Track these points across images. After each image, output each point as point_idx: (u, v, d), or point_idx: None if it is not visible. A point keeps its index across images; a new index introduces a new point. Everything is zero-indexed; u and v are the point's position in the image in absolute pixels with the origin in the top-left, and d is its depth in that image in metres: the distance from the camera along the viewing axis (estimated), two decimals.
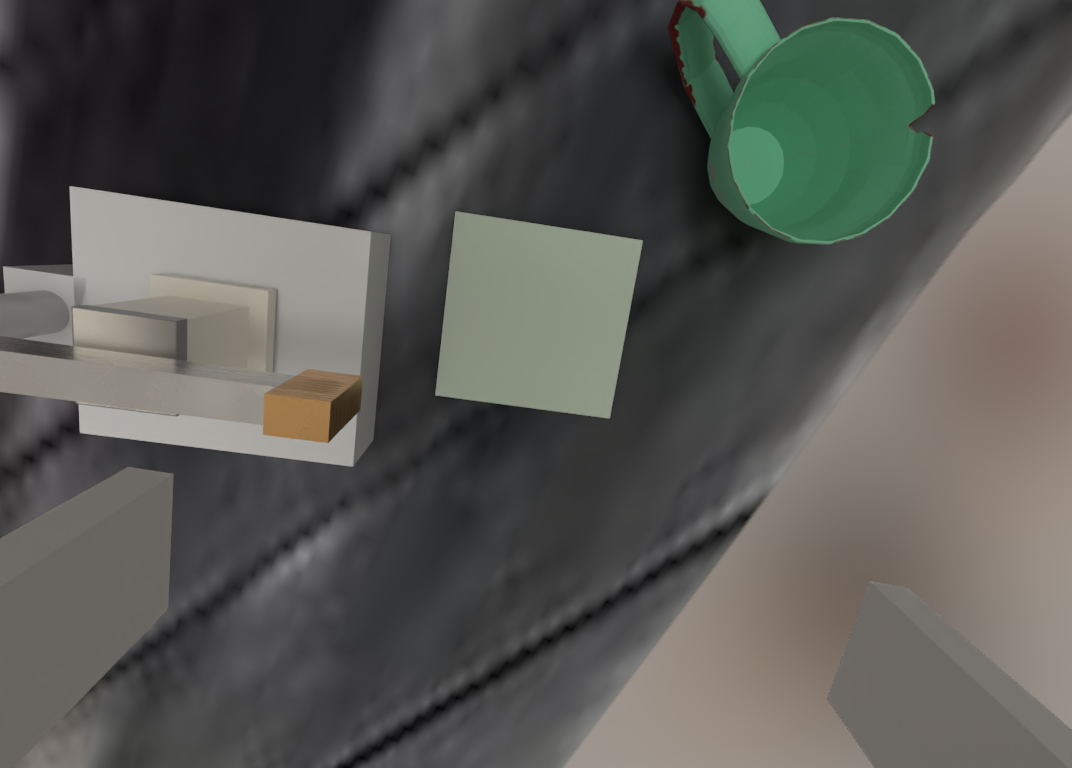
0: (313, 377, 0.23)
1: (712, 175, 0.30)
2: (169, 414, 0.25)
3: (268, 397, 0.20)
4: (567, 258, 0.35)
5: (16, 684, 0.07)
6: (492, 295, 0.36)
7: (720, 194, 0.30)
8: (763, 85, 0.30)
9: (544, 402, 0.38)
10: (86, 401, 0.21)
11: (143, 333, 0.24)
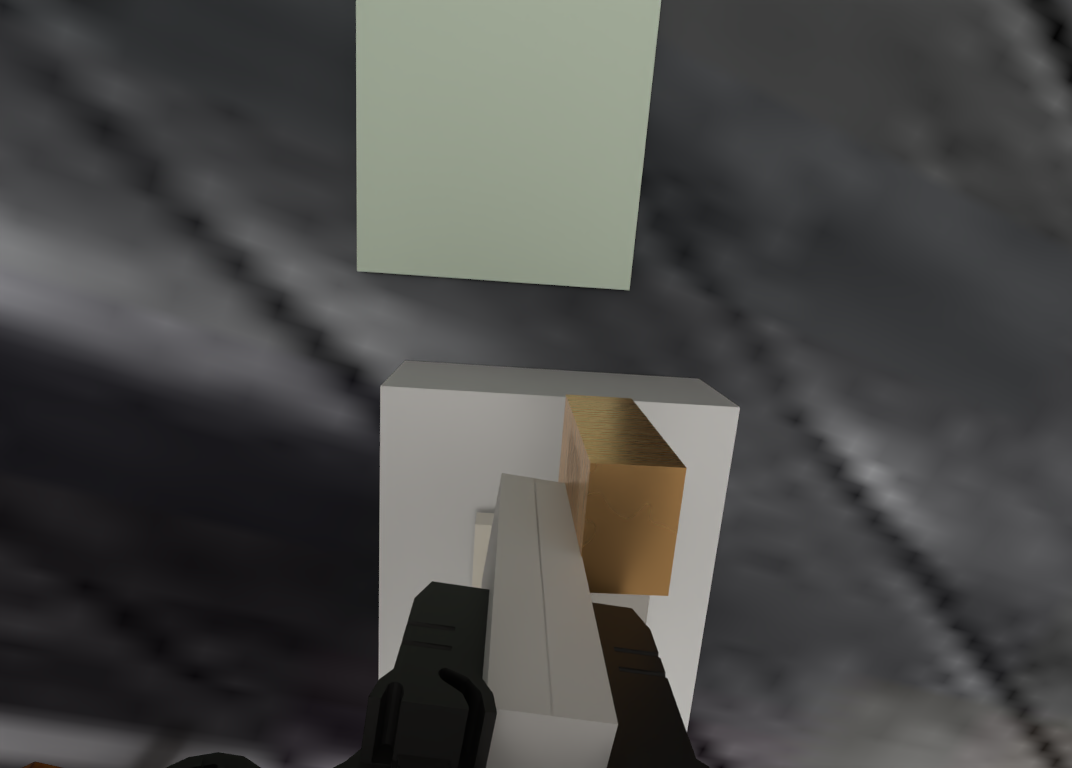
0: (564, 482, 0.12)
1: None
2: None
3: None
4: (401, 88, 0.22)
5: None
6: (471, 208, 0.24)
7: None
8: None
9: (637, 110, 0.23)
10: None
11: None
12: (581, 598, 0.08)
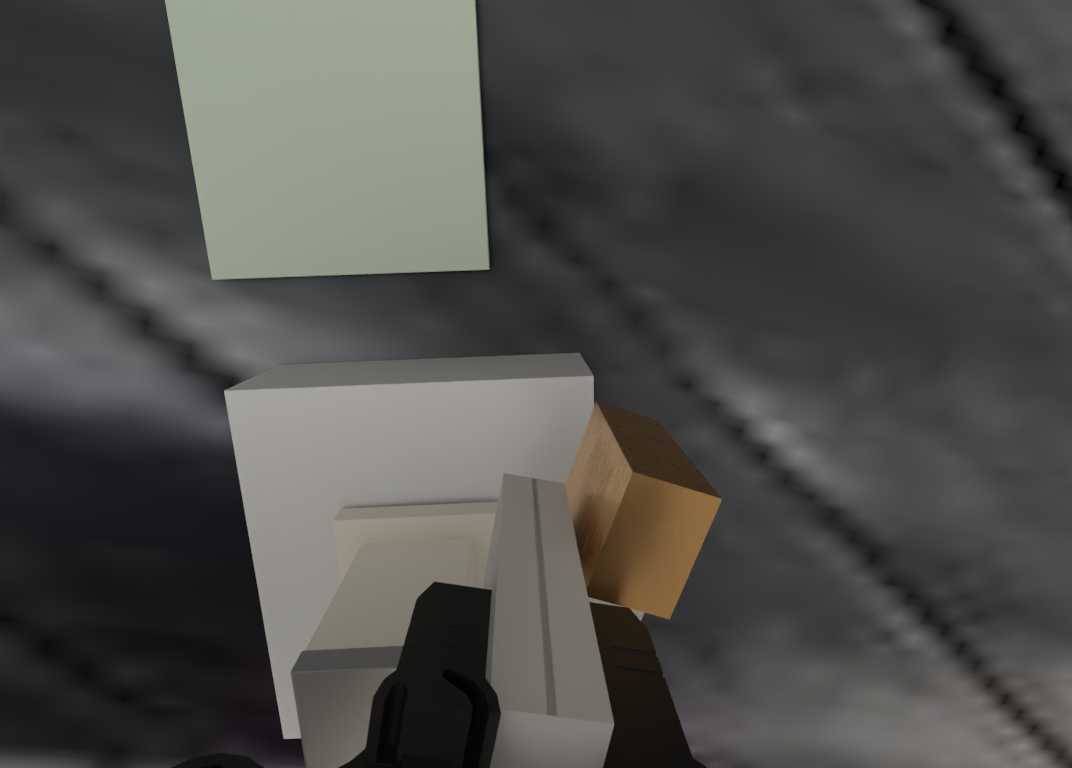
0: (578, 486, 0.12)
1: None
2: None
3: (594, 589, 0.10)
4: (226, 91, 0.22)
5: None
6: (315, 204, 0.23)
7: None
8: None
9: (467, 85, 0.23)
10: None
11: (325, 713, 0.15)
12: (578, 598, 0.08)
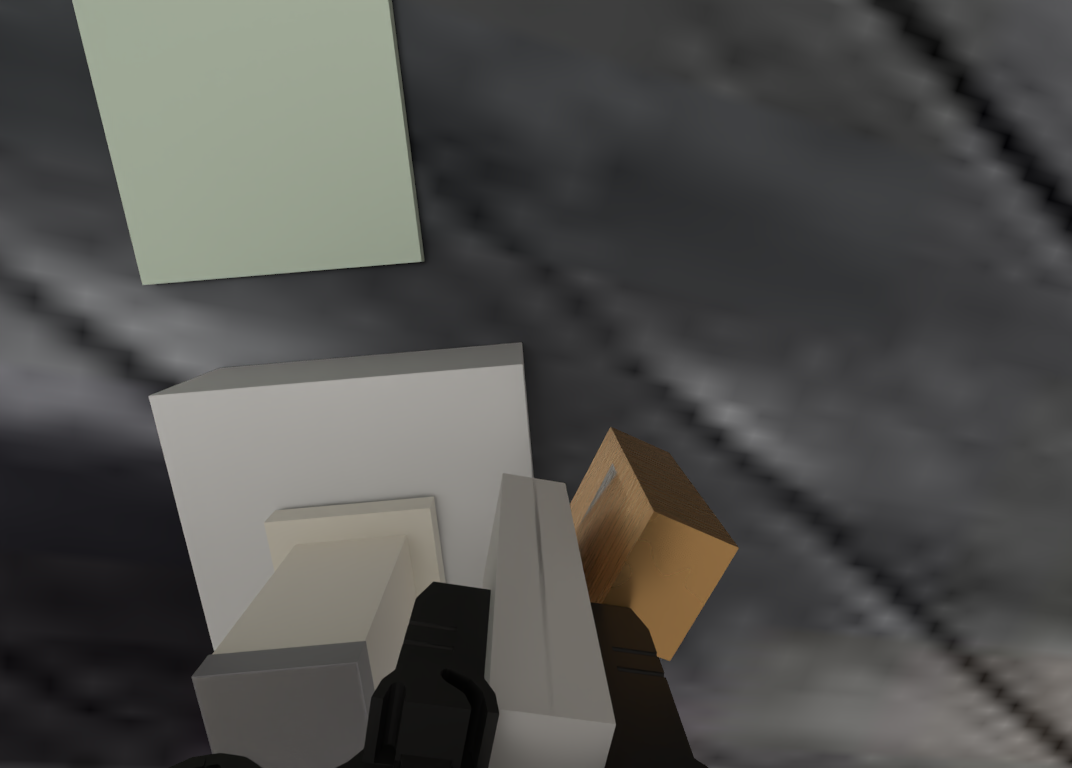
0: (585, 512, 0.12)
1: None
2: (357, 671, 0.14)
3: None
4: (141, 93, 0.22)
5: None
6: (241, 203, 0.23)
7: None
8: None
9: (385, 74, 0.22)
10: None
11: (231, 717, 0.15)
12: (579, 598, 0.08)
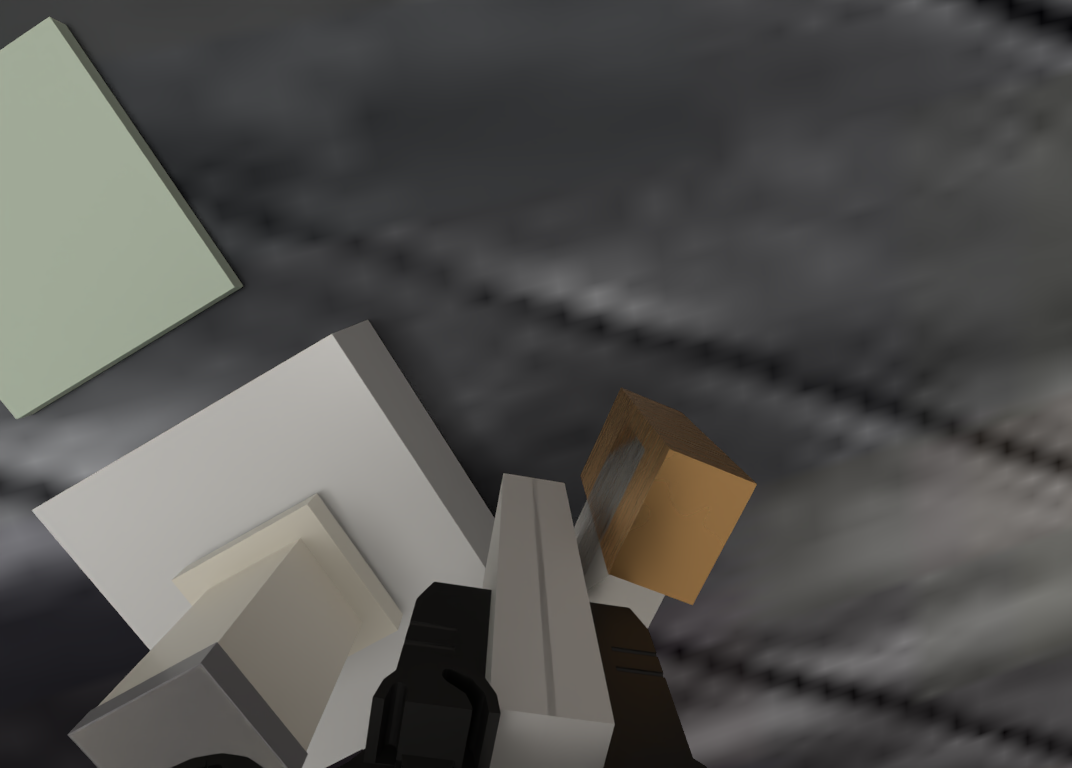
0: (599, 470, 0.12)
1: None
2: (207, 671, 0.14)
3: (618, 568, 0.09)
4: None
5: None
6: (58, 309, 0.24)
7: None
8: None
9: (116, 134, 0.23)
10: None
11: (123, 759, 0.15)
12: (578, 598, 0.08)
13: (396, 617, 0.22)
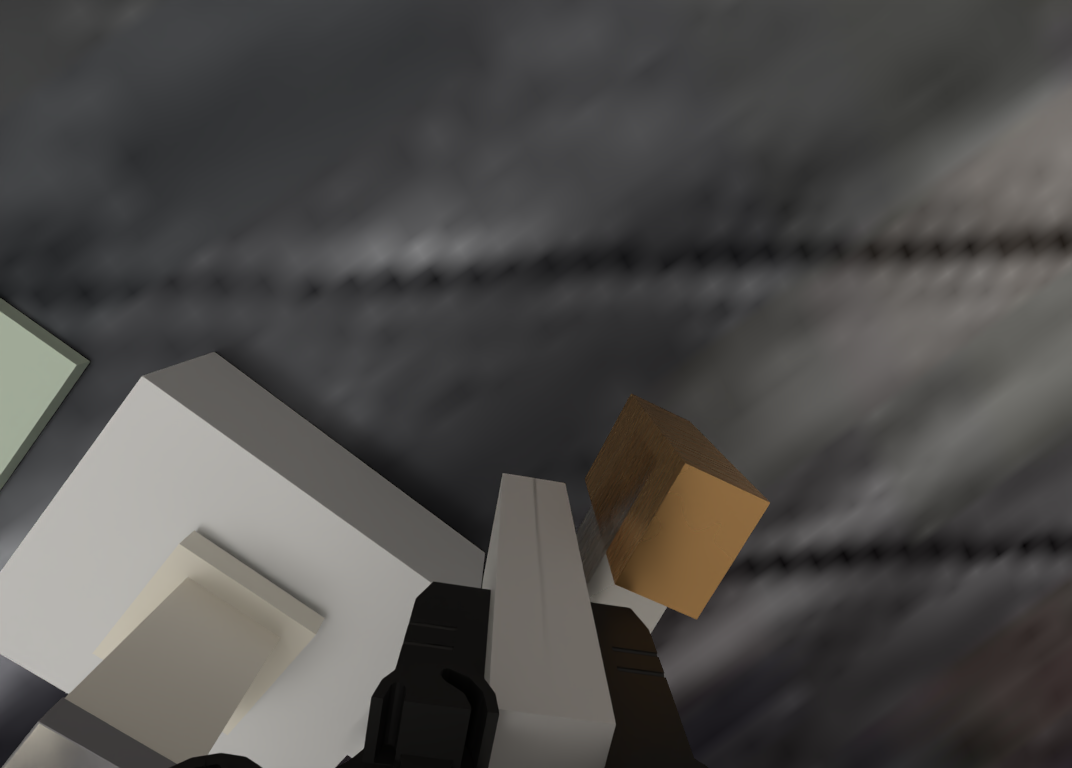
0: (606, 476, 0.12)
1: None
2: (49, 727, 0.15)
3: (626, 579, 0.09)
4: None
5: None
6: None
7: None
8: None
9: None
10: None
11: None
12: (579, 598, 0.08)
13: (313, 623, 0.22)
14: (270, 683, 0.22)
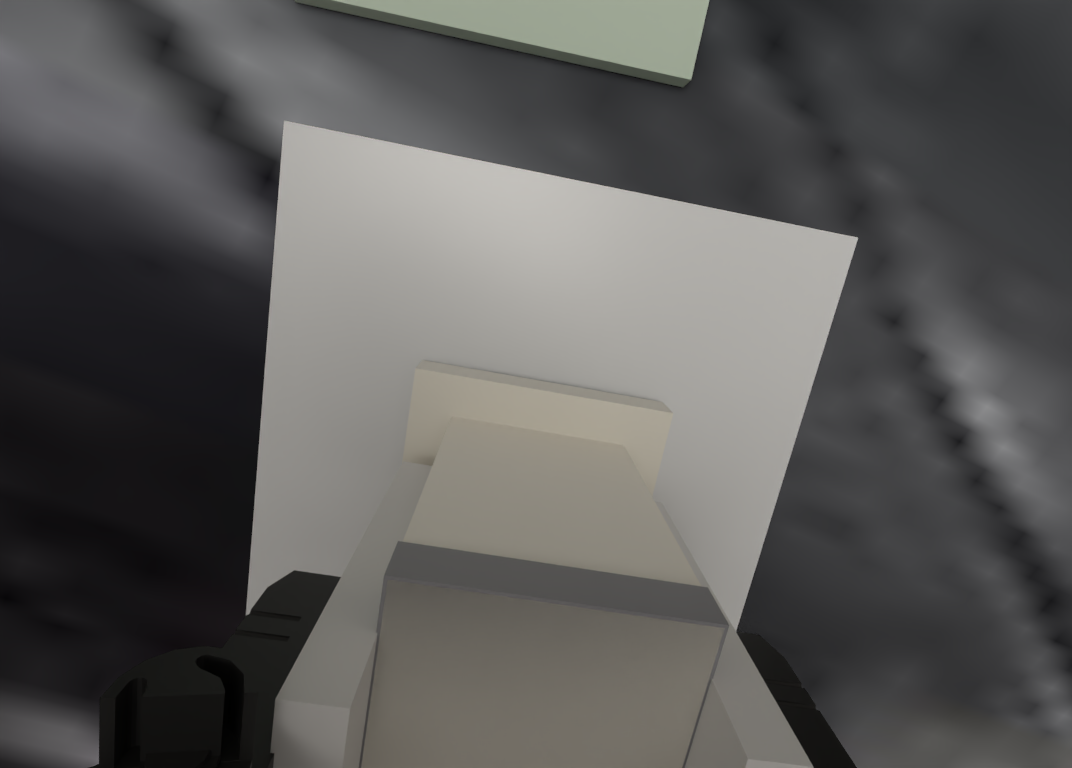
0: None
1: None
2: (718, 645, 0.07)
3: None
4: None
5: None
6: None
7: None
8: None
9: None
10: None
11: (431, 679, 0.07)
12: None
13: None
14: None
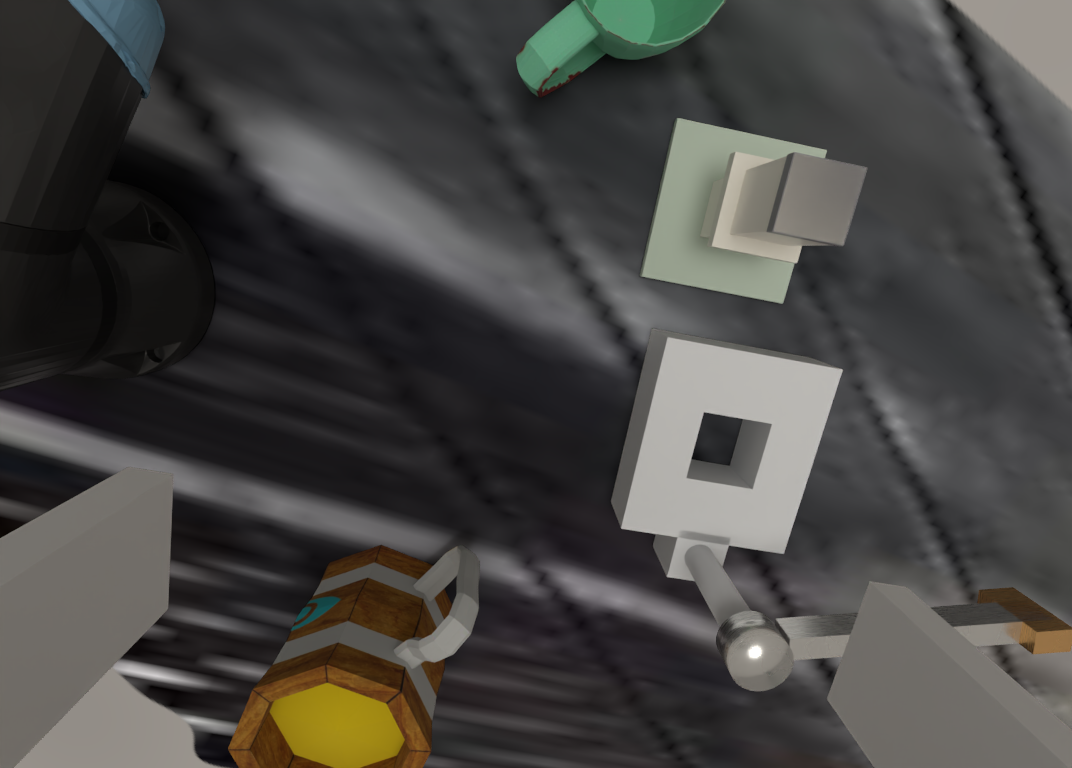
0: (1005, 601, 0.37)
1: None
2: (864, 173, 0.31)
3: (1039, 633, 0.34)
4: (685, 185, 0.43)
5: (16, 684, 0.07)
6: (708, 250, 0.44)
7: None
8: None
9: None
10: None
11: (799, 180, 0.31)
12: None
13: (795, 258, 0.39)
14: (755, 253, 0.38)
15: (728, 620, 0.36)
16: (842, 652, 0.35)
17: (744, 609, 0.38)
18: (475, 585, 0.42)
